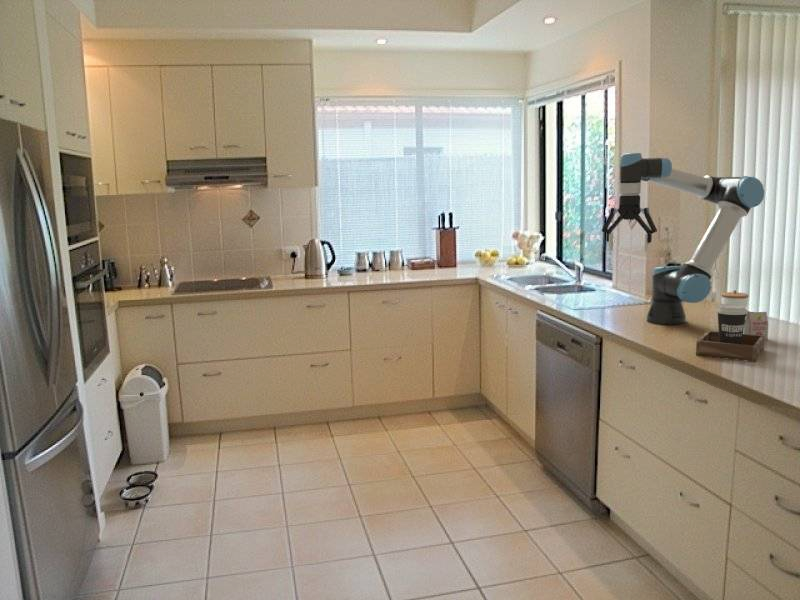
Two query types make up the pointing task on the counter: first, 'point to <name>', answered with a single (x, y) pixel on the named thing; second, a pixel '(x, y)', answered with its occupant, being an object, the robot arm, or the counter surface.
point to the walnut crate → (730, 347)
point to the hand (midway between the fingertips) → (628, 251)
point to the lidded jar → (735, 298)
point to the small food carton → (756, 324)
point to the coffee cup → (731, 323)
